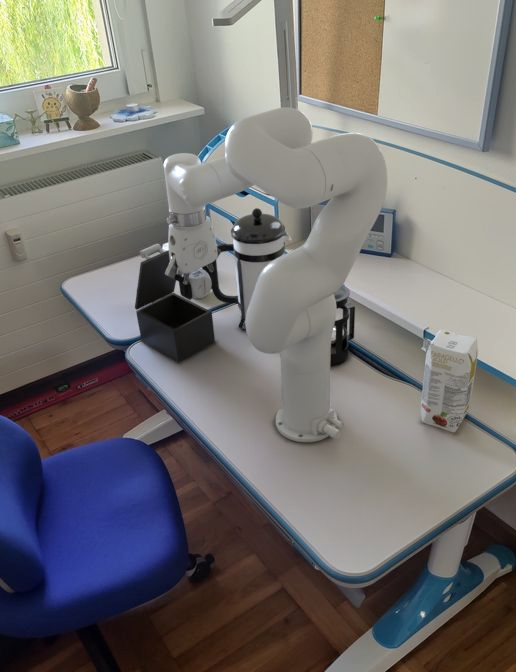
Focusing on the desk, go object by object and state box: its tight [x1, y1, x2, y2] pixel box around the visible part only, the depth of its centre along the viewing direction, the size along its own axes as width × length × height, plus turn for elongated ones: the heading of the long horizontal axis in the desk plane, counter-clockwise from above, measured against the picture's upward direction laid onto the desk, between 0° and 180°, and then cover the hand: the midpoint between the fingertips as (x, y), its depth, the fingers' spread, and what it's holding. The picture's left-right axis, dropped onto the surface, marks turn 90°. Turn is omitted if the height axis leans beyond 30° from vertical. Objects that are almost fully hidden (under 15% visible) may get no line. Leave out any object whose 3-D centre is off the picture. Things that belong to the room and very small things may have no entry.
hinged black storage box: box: [135, 292, 216, 364], centre depth 160 cm, size 15×12×9 cm
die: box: [182, 268, 212, 300], centre depth 145 cm, size 5×5×5 cm
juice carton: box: [420, 328, 479, 433], centre depth 128 cm, size 8×9×19 cm
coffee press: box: [211, 207, 292, 331], centre depth 160 cm, size 17×16×30 cm
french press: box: [330, 284, 356, 368], centre depth 148 cm, size 12×9×23 cm
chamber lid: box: [134, 243, 177, 311], centre depth 157 cm, size 15×12×5 cm
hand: (197, 291), depth 146 cm, fingers closed on die, 5 cm apart
